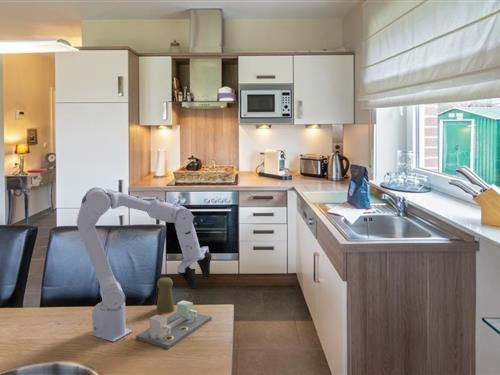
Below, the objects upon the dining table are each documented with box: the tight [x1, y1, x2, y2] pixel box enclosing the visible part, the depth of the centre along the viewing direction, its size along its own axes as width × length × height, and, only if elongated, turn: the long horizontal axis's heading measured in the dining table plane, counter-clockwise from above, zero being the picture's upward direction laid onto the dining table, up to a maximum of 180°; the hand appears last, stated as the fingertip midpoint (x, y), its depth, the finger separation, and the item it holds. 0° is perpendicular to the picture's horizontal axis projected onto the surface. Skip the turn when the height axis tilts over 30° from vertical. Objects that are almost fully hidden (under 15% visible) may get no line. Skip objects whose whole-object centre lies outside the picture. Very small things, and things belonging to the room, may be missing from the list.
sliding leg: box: [176, 299, 198, 320], centre depth 144 cm, size 6×3×5 cm, turn 62°
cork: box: [156, 277, 175, 314], centre depth 154 cm, size 6×6×11 cm
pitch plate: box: [135, 311, 212, 350], centre depth 140 cm, size 12×22×6 cm, turn 152°
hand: (200, 282), depth 145 cm, fingers open, 7 cm apart
